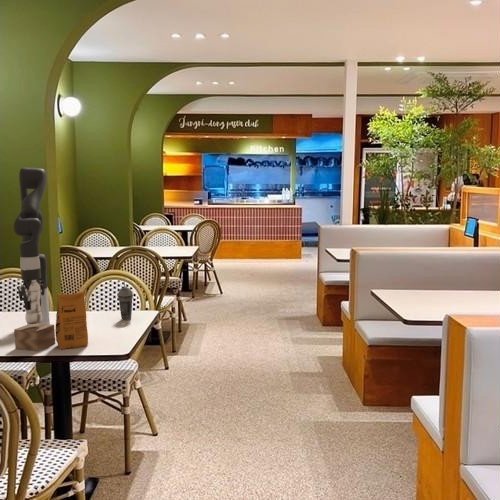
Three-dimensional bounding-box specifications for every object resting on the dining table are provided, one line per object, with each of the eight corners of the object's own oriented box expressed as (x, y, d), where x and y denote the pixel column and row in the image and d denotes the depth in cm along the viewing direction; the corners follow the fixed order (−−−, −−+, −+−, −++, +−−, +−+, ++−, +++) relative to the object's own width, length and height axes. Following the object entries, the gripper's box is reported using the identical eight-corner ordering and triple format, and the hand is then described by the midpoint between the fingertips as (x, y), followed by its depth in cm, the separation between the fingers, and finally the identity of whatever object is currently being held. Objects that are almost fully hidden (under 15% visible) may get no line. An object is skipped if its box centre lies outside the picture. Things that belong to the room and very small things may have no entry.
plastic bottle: (46, 322, 248) (43, 274, 245) (35, 326, 241) (32, 277, 239) (33, 321, 250) (30, 273, 248) (22, 325, 243) (19, 276, 241)
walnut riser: (15, 348, 243) (14, 329, 242) (33, 341, 254) (32, 323, 253) (37, 350, 240) (36, 331, 239) (55, 343, 250) (54, 324, 249)
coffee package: (55, 344, 249) (52, 292, 246) (86, 340, 253) (83, 289, 251) (57, 350, 240) (54, 296, 237) (89, 346, 244) (86, 293, 242)
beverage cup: (121, 321, 286) (119, 280, 283) (117, 318, 292) (115, 277, 289) (135, 319, 289) (134, 278, 286) (131, 316, 295) (129, 276, 293)
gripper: (34, 264, 251) (37, 304, 253) (10, 270, 237) (13, 311, 239) (49, 265, 248) (52, 305, 250) (25, 270, 235) (28, 312, 237)
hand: (33, 308), depth 245 cm, fingers closed on plastic bottle, 5 cm apart
